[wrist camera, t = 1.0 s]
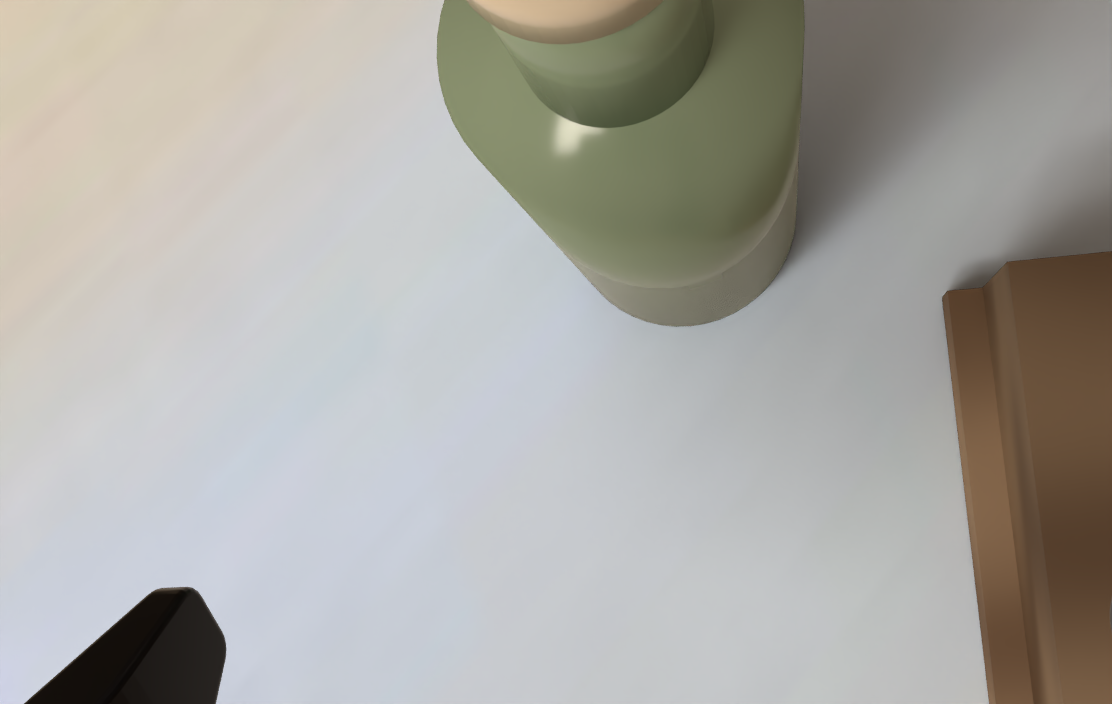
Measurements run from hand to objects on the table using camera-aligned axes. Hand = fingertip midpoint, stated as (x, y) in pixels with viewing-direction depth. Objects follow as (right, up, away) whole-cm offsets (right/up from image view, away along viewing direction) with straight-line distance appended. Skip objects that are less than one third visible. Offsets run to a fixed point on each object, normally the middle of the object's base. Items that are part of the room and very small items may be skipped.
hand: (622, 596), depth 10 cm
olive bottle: (+2, +6, +14) cm, 15 cm away
